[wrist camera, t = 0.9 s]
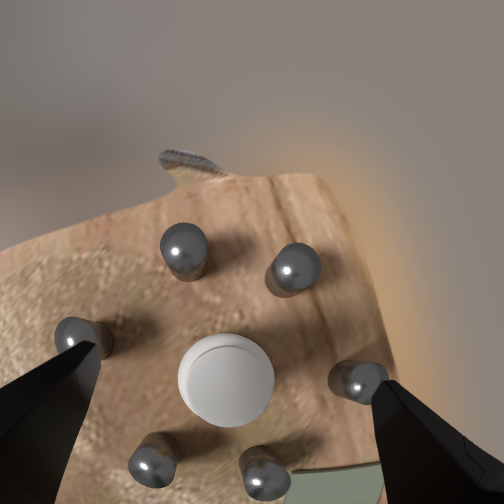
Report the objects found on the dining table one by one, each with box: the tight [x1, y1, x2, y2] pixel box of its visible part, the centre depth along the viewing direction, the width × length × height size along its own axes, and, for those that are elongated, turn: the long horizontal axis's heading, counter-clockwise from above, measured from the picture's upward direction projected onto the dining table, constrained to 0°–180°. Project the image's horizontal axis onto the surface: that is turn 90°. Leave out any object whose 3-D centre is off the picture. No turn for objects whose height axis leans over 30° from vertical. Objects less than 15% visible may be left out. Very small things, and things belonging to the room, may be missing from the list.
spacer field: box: [55, 223, 389, 501], centre depth 19 cm, size 19×24×4 cm
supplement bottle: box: [178, 333, 275, 427], centre depth 16 cm, size 5×5×10 cm
